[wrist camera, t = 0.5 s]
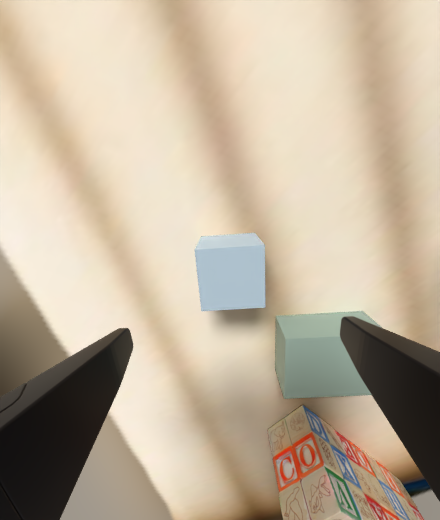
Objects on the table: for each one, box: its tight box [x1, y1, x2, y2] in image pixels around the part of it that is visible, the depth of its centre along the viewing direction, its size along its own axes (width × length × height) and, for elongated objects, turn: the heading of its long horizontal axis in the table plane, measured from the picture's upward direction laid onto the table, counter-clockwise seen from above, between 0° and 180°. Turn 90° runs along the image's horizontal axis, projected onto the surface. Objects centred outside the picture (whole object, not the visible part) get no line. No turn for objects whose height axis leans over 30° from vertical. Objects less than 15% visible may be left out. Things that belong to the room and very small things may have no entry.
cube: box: [195, 233, 265, 311], centre depth 18 cm, size 5×5×5 cm
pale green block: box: [275, 311, 382, 399], centre depth 22 cm, size 9×7×4 cm
